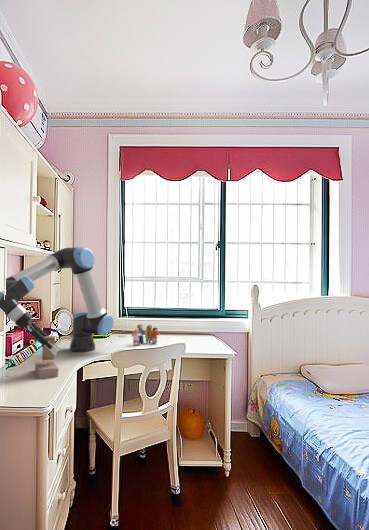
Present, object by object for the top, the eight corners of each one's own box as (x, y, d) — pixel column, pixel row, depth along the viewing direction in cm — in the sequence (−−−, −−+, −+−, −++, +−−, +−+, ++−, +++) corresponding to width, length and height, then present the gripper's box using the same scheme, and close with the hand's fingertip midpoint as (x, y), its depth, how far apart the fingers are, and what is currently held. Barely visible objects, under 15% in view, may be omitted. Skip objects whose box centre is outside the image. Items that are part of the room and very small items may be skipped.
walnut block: (43, 357, 176) (44, 336, 176) (54, 357, 177) (55, 336, 177) (42, 360, 171) (42, 338, 171) (53, 359, 172) (54, 338, 172)
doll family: (131, 346, 240) (132, 326, 240) (125, 344, 248) (126, 324, 248) (160, 343, 251) (161, 324, 252) (154, 341, 259) (154, 322, 260)
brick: (59, 377, 167) (59, 366, 168) (39, 379, 163) (39, 368, 164) (53, 369, 182) (53, 359, 182) (34, 371, 178) (34, 361, 178)
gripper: (17, 320, 180) (53, 353, 183) (9, 325, 162) (49, 361, 166) (29, 309, 181) (64, 342, 184) (23, 312, 163) (61, 349, 167)
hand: (57, 351), depth 175 cm, fingers closed on walnut block, 5 cm apart
